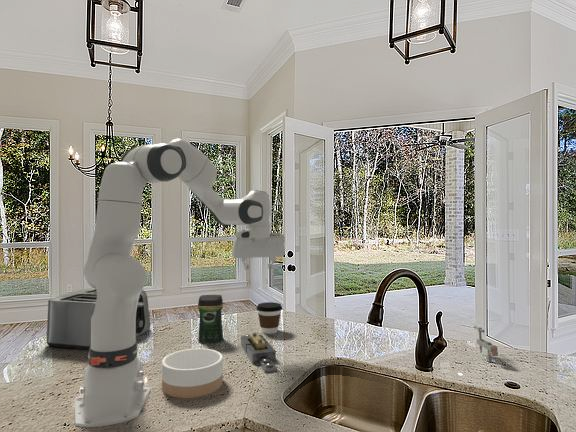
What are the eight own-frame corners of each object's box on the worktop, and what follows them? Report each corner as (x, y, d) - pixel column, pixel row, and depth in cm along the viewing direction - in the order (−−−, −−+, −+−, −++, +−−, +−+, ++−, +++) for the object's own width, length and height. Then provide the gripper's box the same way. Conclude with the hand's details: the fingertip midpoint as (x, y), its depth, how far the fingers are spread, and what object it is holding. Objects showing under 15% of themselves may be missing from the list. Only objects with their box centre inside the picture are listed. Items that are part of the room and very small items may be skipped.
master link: (265, 357, 133) (265, 340, 133) (256, 358, 132) (256, 341, 132) (257, 347, 144) (257, 331, 144) (249, 347, 143) (249, 332, 143)
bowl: (198, 370, 124) (198, 344, 124) (235, 385, 114) (235, 356, 114) (149, 388, 111) (149, 359, 111) (185, 407, 100) (185, 375, 100)
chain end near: (282, 372, 123) (282, 359, 123) (258, 375, 120) (258, 362, 120) (268, 354, 139) (268, 342, 139) (246, 356, 136) (246, 345, 136)
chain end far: (236, 340, 153) (236, 330, 153) (256, 338, 156) (256, 328, 156) (245, 355, 137) (245, 344, 137) (267, 353, 140) (267, 342, 140)
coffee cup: (253, 330, 167) (253, 302, 167) (278, 328, 170) (278, 301, 170) (259, 338, 156) (259, 308, 156) (285, 335, 160) (285, 306, 160)
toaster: (108, 357, 136) (108, 303, 136) (33, 349, 143) (34, 298, 143) (154, 332, 164) (154, 288, 164) (90, 327, 171) (90, 285, 171)
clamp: (498, 365, 128) (497, 334, 129) (492, 365, 128) (490, 334, 129) (478, 352, 143) (477, 325, 144) (472, 352, 143) (471, 325, 144)
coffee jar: (224, 338, 156) (224, 292, 156) (221, 345, 148) (221, 296, 148) (200, 339, 155) (200, 292, 155) (196, 345, 147) (196, 297, 147)
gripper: (282, 232, 155) (281, 267, 155) (231, 233, 148) (231, 269, 148) (287, 233, 149) (286, 269, 149) (234, 233, 142) (234, 271, 142)
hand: (258, 269), depth 148 cm, fingers open, 8 cm apart
